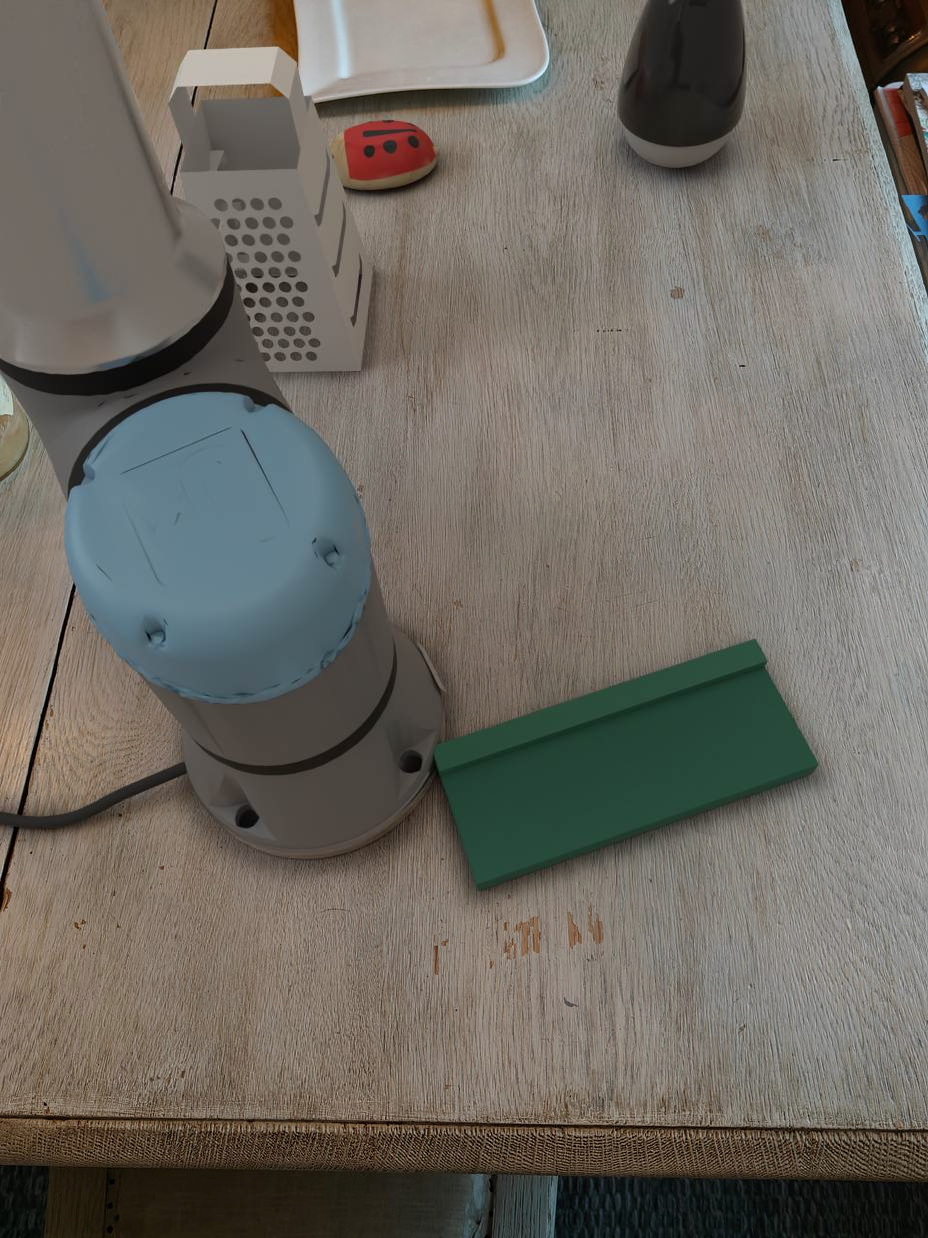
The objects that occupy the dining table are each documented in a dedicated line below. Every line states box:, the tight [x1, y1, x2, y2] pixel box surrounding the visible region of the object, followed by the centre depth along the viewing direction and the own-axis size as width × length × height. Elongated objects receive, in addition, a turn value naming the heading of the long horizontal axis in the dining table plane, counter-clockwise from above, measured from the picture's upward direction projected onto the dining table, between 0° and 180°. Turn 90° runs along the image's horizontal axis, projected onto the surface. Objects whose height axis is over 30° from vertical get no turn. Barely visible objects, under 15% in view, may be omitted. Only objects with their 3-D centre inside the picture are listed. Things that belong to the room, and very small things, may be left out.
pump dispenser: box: [616, 0, 748, 169], centre depth 75 cm, size 10×10×15 cm
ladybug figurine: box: [329, 119, 441, 191], centre depth 81 cm, size 7×10×4 cm
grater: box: [167, 46, 374, 373], centre depth 65 cm, size 10×10×20 cm
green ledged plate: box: [433, 638, 819, 892], centre depth 54 cm, size 20×8×2 cm, turn 108°
